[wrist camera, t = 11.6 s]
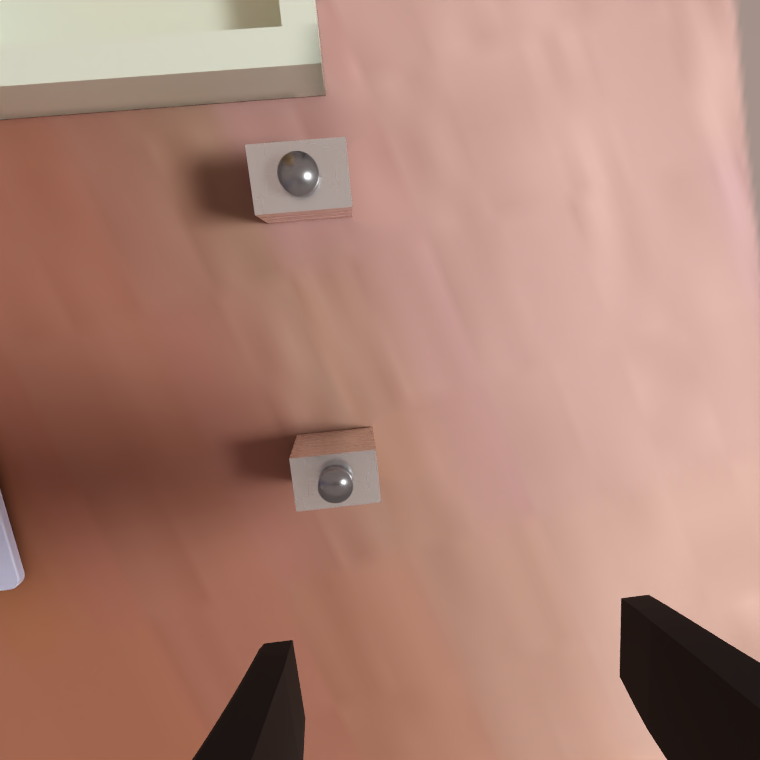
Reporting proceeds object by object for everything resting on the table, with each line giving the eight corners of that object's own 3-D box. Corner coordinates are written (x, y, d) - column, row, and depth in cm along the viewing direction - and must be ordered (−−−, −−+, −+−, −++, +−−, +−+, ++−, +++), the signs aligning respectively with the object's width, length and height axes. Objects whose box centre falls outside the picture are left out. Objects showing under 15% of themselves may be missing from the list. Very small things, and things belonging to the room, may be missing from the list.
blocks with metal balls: (303, 481, 19) (294, 518, 16) (260, 163, 16) (240, 140, 14) (376, 473, 19) (381, 508, 16) (346, 156, 17) (345, 131, 14)
